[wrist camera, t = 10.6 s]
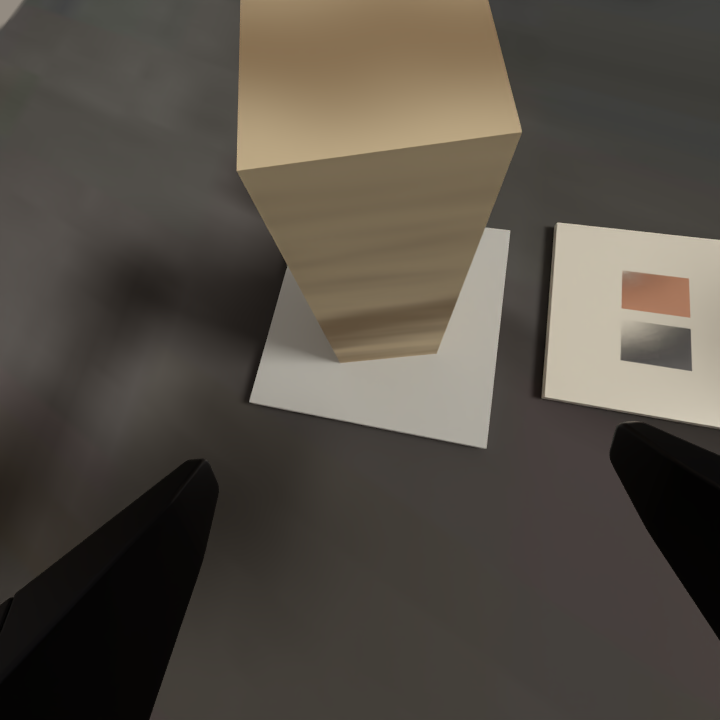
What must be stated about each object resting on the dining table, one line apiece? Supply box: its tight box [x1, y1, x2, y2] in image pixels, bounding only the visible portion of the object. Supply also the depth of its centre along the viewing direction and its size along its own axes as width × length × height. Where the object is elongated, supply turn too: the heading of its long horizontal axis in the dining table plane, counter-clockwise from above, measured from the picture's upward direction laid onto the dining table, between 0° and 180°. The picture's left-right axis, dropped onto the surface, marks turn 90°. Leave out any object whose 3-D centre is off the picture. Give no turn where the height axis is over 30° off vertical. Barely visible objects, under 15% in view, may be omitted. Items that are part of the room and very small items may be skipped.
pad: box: [249, 228, 510, 449], centre depth 20 cm, size 12×12×1 cm
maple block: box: [237, 0, 522, 363], centre depth 13 cm, size 5×5×13 cm
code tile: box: [542, 223, 720, 429], centre depth 19 cm, size 10×10×1 cm
